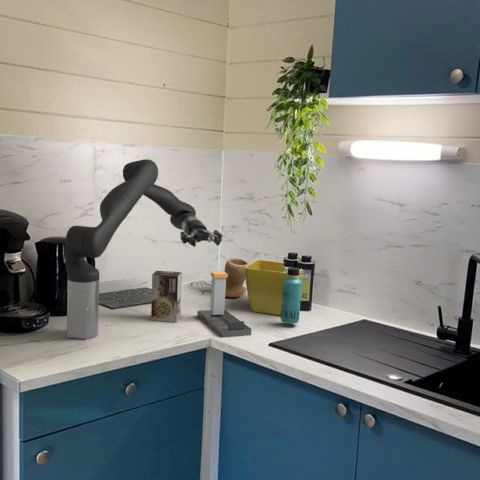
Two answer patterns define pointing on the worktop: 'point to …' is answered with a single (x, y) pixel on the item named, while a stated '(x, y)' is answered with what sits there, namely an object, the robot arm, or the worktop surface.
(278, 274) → the flower pot
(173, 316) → the coffee box
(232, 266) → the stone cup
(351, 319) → the worktop surface
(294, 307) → the beverage bottle
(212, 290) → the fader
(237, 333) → the console
